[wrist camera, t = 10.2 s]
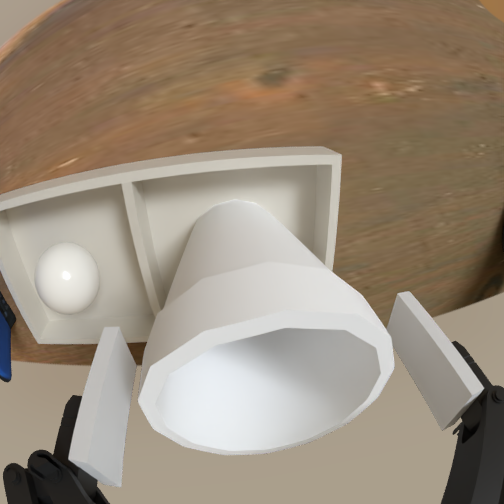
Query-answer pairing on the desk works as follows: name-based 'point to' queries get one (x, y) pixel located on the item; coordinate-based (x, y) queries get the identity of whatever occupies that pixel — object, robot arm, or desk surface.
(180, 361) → the foam cup
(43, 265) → the ceramic ball
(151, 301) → the carton tray
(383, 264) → the desk surface
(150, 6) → the desk surface
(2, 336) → the handheld game console
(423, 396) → the robot arm
